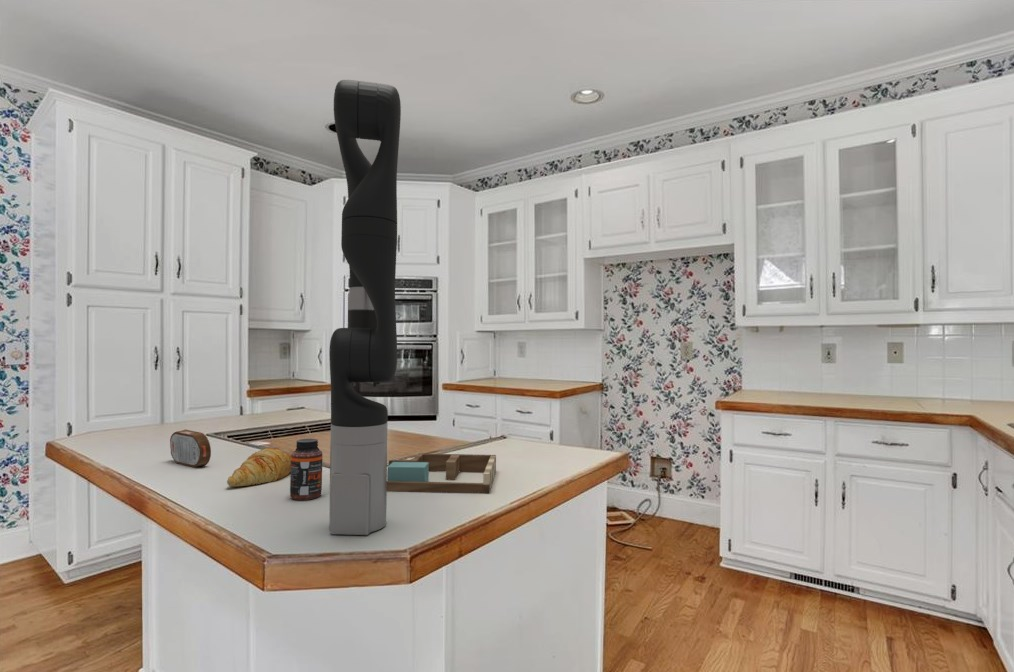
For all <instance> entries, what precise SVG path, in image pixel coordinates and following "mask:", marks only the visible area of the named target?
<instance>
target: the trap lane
mask: <svg viewBox="0 0 1014 672" xmlns="http://www.w3.org/2000/svg"><path fill="white" fill-rule="evenodd" d="M392 462H429V472H437V471H446V472H445V480H446V479H447V480H446V481H449V482H446V481H428V482H413V481H387V492H402V493H403V492H408V493H415V492H416V493H446V492H447V493H448V494H449V493H450V494H452V493H454V494H456V493H457V494H490V492H491V489H492V488H491V487H492V485H493V481H494V479H495V475H496V472H497V455H496V454H472V453H471V454H469V453H468V454H463V453H462V454H461V453H460V454H459V453H418V454H417V455H415V456H414V457H413V458H412V459H389V460H388V466H389V465H390V464H391V463H392ZM459 471H460V472H459ZM458 473H483V482H456V481H455V480H456V479H455V478H457V476H458V475H459V474H458ZM448 479H450V480H448ZM452 481H455V482H452Z"/></svg>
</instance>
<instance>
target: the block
mask: <svg viewBox="0 0 1014 672" xmlns="http://www.w3.org/2000/svg"><path fill="white" fill-rule="evenodd" d="M429 472H430V471H429V462H392V463H391V464H390V465H389V464H388V465H387V481H413V482H429V480H430V479H429Z"/></svg>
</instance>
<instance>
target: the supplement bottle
mask: <svg viewBox="0 0 1014 672" xmlns="http://www.w3.org/2000/svg"><path fill="white" fill-rule="evenodd" d="M318 446H319V441H318V439H317V438H301V439H297V440H296V446H295V447H296V448H295V450H294V451H292V452H291V454H290V455H291V471H290V478H289V479H290V481H289V482H290V483H289V487H290V488H289V497H290V498H291V499H293V500H297V501H306V500H308V501H309V500H313V499H317V498H318V497H320V496H321V495H322V490H323V489H322V488H323V451H322V450H321V449H320V448H319V447H318Z"/></svg>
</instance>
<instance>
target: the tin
mask: <svg viewBox="0 0 1014 672" xmlns="http://www.w3.org/2000/svg"><path fill="white" fill-rule="evenodd" d="M169 442H170V443H169V445H170V446H169V447H170V456H171V458H172V459H173V460H174V461H175V462H176V464H179V465H184V466H187V467H192V468H198V467H203V466H207V464H209V462H210V460H211V455H212V453H211V452H212V448H211V444H210V440H209V438H208V437H207V436H206V434H205V433H203V432H200V431H195V430H190V429H182V430H178V431H175V432H172V434H171V436H170V438H169Z"/></svg>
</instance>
